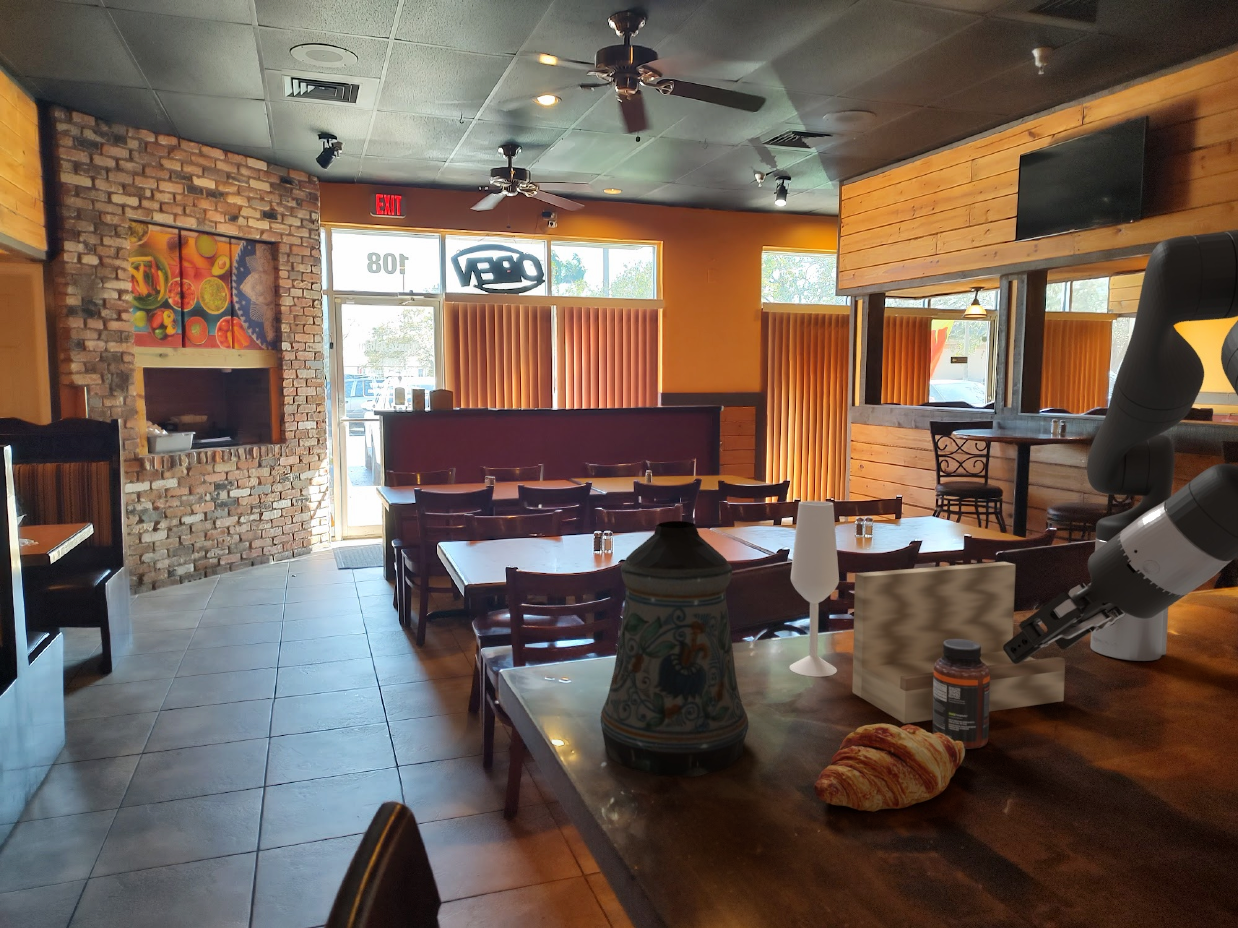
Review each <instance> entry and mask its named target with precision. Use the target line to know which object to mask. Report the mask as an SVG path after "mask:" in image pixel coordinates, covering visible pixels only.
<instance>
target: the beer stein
mask: <svg viewBox="0 0 1238 928" xmlns="http://www.w3.org/2000/svg"><path fill="white" fill-rule="evenodd" d="M620 572H621V579H622V581H623V583H624V585H625V598H624V599H625V600H624V605H623V612H622V619H621V626H620V632H619V638H618V644H617V649H616V656H615V663H614V668H613V674H612V677H611V680H610V681H611V682H610V685H609V690H608V694H607V697H606V699H605V702H604V705H603V706H602V709H601V713H600V725H601V726H600V727H601V731H602V737H603V742H604V746H605V747H604V748H605V751H606V752H607V753H608V755H609V757H610V758H611V759H612V760H613V761H615V762H617V763H618V764H620V765H623V766H624V767H626V768H627V769H630V770H634V771H638V772H643V773H646V774H651V775H654V776H661V777H665V776H666V777H699V776H702V775H706V774H709V773H712V772H716V771H719V770H723V769H727V768H728V767H730V766H731V765H732V764H733V763H735V762H736V761H737V760H738V759H739V758H741V757H742V756H743V753H744V743H745V739H746V736H747V733H748V730H749V726H750V725H749V718H748V715H747V712H746V710H745V707H744V705H743V704H742V700H741V696H740V692H739V691H740V690H739V687H738V685H739V684H738V679H737V674H736V668H735V667H736V666H735V659H734V658H735V657H734V650H733V649H734V648H733V642H732V634H731V633H732V632H731V625H730V618H729V617H730V616H729V610H728V605H727V595H726V594H727V593H726V592H727V591H726V589H727V588H728V586H729V585H730V583H731V581H732V580H731V579H732V575H733V567H732V566H731V564H730V563H729V562H728V561H727V559H726V558H725V556H723V555H722V554H721V553H720V552H719V551H718V550H716V549H715V548H714V547H713V546H712V545H711V544H709V542H707V541H706V540H705V539H704V538H703V537H702V536H701V535H700V533H699V530H698V528H697V526H696V524H695V523H693V522H689V521H683V520H672V521H671V520H670V521H669V520H668V521H663V522H659V523H658V524H657V525H656V528H655V530H654V533H653V534H652V535H651V536H650V537H649V538H647V539H646V540H645V541H644V542H643V543H642V544H640V545H639V546H638V547H637V548H635V549H634V550H633V551H632V552H631V553H630V554H629V555H628V556H626V558H625V560H624V561H623V563H621V566H620Z"/></svg>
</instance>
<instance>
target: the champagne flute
mask: <svg viewBox="0 0 1238 928" xmlns="http://www.w3.org/2000/svg"><path fill="white" fill-rule="evenodd" d="M797 508H798V509H797V518H796V526H795V534H794V535H795V536H794V543H793V552H792V553H793V554H792V560H791V561H792V563H791V571H790V582H791V584H792V586H793V587H794V589H795V591H797V593H798V594H799V595H801V596H802V598H803V599H804V600H805V601H807V602H808V603H809V636H808V637H809V638H808V639H809V641H808V642H809V643H808V644H809V645H808V646H809V647H808V655H807V656H805V657H803V658H801V659H800V660H797V661H795V662H794V663H791V664H790V665H789V670H791V672H793V673H795V674H798V675H801V676H805V677H828V676H833V675H835V674H836V673H837V672H838V670H837V668H836V667H835V666H834V665H832V664H831V663H829V662H827V661H825V660H824V658H821V657H820V656H819V655H818V654H819V653H818V651H819V649H818V648H819V647H818V645H819V643H818V642H819V639H818V638H819V637H818V636H819V603H821V602H823V601H825V599H827V598H828V597H830V595H831V594H832V593H833V592H834V591H835V589H837V587H838V585H839V582H840V577H839V564H838V563H839V561H838V549H837V538H836V537H837V535H836V522H835V509H834V508H835V507H834V503H833V502H831V501H821V500H804V501H803V500H802V501H799V502H798V507H797Z"/></svg>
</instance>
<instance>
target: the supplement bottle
mask: <svg viewBox="0 0 1238 928" xmlns="http://www.w3.org/2000/svg"><path fill="white" fill-rule="evenodd" d="M943 654H944V656H943V657H942V658H940V659H938V660H937V661H936V662H935V664H934V680H933V720H932V734H935V733H938V732H939V733H943V734H944V735H945V736H948V737H949V738H951V739H952V740H953V741H962V742H963V745H964V749H965V750H972V749H973V750H974V749H980V748H983V747H985V746H986V745H987V743H988V741H989V733H990V732H989V729H990V711H989V692H990V691H989V690H990V671H989V668H988V666H987V665H986V664H985V663H983V662H982V661H981V659H980V657H981V646H980V645H979V644H978V643H976V642H974V641H970V640H964V639H950V640H946V641H944V642H943Z"/></svg>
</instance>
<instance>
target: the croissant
mask: <svg viewBox="0 0 1238 928" xmlns="http://www.w3.org/2000/svg"><path fill="white" fill-rule="evenodd" d="M965 754H966V749H964V745H963V742H962V741H953V740H952V739H951V738H949V737H948V736H945V735H944V734H943V733H939V732H938V733H935V734H933V733H931V732H928V731H926V729H923V728H921V727H920V726H917V725H913V724H906V725H903V726H901V727H898V726H897V725H893V724H891V723H889V724H888V723H876V724H875V723H874V724H866V725H865V724H864V725H862V726H859V727H858V728H856V730H854V731H852V732H851V733H849V734H848V735H846V737H844V739H843V740H842V743H841V745H840V747H839V750H838V751H837V752H836V753H835V754H834V755H833V756H832V757H831V760H830V765H828V766H826V767H825V768H824V769H823V770H822V771H821V772H820V774H819V776H818V777H817V781H815V782H814V784H813V790H814V791H813V792H814V794H815V795H816V797H817V799H820V800H821V801H823V802H825V803H827V804H830V805H833V806H844V807H849V808H851V809H854V810H858V811H867V812H876V811H880V810H887V809H894V810H895V809H904V808H907V807H911V806H912V805H915V804H919V803H923V802H926V801H929V800H931V799H933V798H935V797H937V796H939V795H941V793H943V792H944V791H945V789H947V787H948V786H949V784H950V781H951V778H952V777H954V775H955V773H956V770H958V768H959V767H960V766H961V764H962V762H963V760H964V758H965Z"/></svg>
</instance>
